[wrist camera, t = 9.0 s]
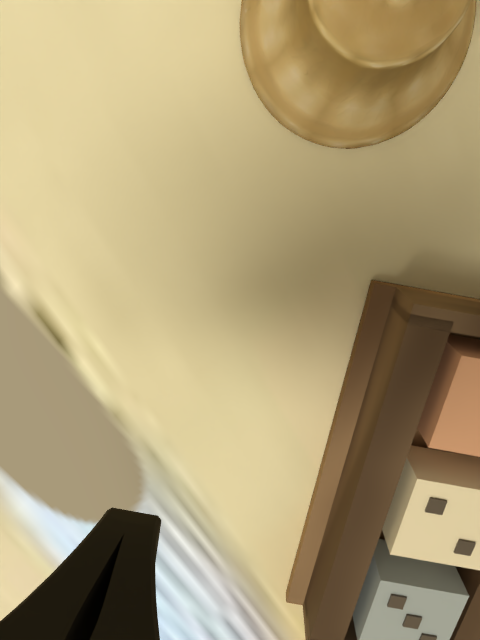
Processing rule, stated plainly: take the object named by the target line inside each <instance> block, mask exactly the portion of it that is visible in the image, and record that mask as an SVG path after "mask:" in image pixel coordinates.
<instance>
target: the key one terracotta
mask: <svg viewBox="0 0 480 640" xmlns="http://www.w3.org/2000/svg"><path fill="white" fill-rule="evenodd" d="M417 429H418V430H419V432H420V434H421V435H422V437H423V439H424V441H425V442H426V444H427V446H428V448H433V449H439V450H444V451H450V452H456V453H461V454H467V455H472V456H478V457H480V340H478V339H473V338H467V337H462V336H456V335H451V334H449V337H448V340H447V343H446V346H445V349H444V351H443V354H442V357H441V360H440V363H439V366H438V369H437V372H436V375H435V378H434V380H433V383H432V386H431V389H430V392H429V395H428V398H427V401H426V404H425V407H424V409H423V412H422V415H421V418H420V421H419V424H418V427H417Z"/></svg>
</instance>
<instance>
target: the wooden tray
mask: <svg viewBox="0 0 480 640" xmlns="http://www.w3.org/2000/svg"><path fill="white" fill-rule="evenodd" d="M449 334H451V335H456V336H462V337H467V338H473V339H478V340H480V299H475V298H469V297H464V296H458V295H453V294H447V293H442V292H436V291H430V290H425V289H419V288H414V287H408V286H403V285H397V284H392V283H386V282H381V281H375V280H371V283H370V287H369V291H368V294H367V298H366V302H365V305H364V309H363V313H362V316H361V320H360V324H359V327H358V331H357V335H356V338H355V342H354V346H353V349H352V353H351V357H350V360H349V364H348V367H347V371H346V375H345V378H344V382H343V386H342V389H341V393H340V397H339V400H338V404H337V408H336V411H335V415H334V419H333V422H332V426H331V430H330V433H329V437H328V441H327V444H326V448H325V452H324V455H323V459H322V463H321V466H320V470H319V474H318V477H317V481H316V485H315V488H314V492H313V495H312V499H311V503H310V506H309V510H308V514H307V517H306V521H305V525H304V528H303V532H302V536H301V539H300V543H299V547H298V550H297V554H296V558H295V561H294V565H293V569H292V572H291V576H290V580H289V583H288V587H287V591H286V602H288V603H293V604H299V605H303V613H304V625H305V637H306V640H357V636H356V631H355V626H354V621H353V612H354V610H355V607H356V604H357V601H358V598H359V595H360V592H361V589H362V586H363V583H364V581H365V578H366V575H367V572H368V569H369V566H370V563H371V560H372V557H373V554H374V552H375V549H376V546H377V543H378V540H379V539H383V540H385V537H384V534H383V531H382V528H383V525H384V523H385V520H386V517H387V514H388V511H389V508H390V505H391V502H392V499H393V496H394V494H395V491H396V488H397V485H398V482H399V479H400V476H401V473H402V470H403V467H404V465H405V462H406V459H407V456H408V453H409V450H410V447H411V445H412V446H418V447H424V448H428V446H427V444H426V442H425V441H424V439H423V437H422V435H421V434H420V432H419V430H418V429H417V427H418V424H419V421H420V418H421V415H422V412H423V409H424V407H425V404H426V401H427V398H428V395H429V392H430V389H431V386H432V383H433V380H434V378H435V375H436V372H437V369H438V366H439V363H440V360H441V357H442V354H443V351H444V349H445V346H446V343H447V340H448V337H449ZM429 449H433V448H429ZM435 450H439V449H435ZM440 451H444V450H440ZM446 452H450V451H446ZM451 453H456V452H451ZM457 454H461V453H457ZM463 455H467V454H463ZM468 456H472V455H468ZM474 457H478V456H474ZM479 458H480V457H479ZM455 567H456V569H457V571H458V573H459V575H460V577H461V580H462V582H463V584H464V586H465V588H466V590H467V592H468V594H469V598H468V600H467V602H466V604H465V607H464V609H463V611H462V613H461V616H460V618H459V620H458V622H457V624H456V627H455V629H454V631H453V633H452V635H451V638H450V640H480V570H475V569H469V568H463V567H458V566H455Z"/></svg>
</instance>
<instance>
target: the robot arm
mask: <svg viewBox="0 0 480 640" xmlns="http://www.w3.org/2000/svg"><path fill="white" fill-rule="evenodd" d="M160 526H161V519H160V518H159V517H158V516H156V515H150V514H145V513H139V512H133V511H128V510H122V509H116V508H111V509H109V510H107V511H106V513H105V514H104V515H103V517H102V518H101V519H100V521H99V522H98V523H97V524H96V526H95V527H94V528H93V529H92V530H91V532H90V533H89V534H88V535H87V536H86V537H85V539H84V540H83V541H82V542H81V543H80V544H79V545H78V546H77V548H76V549H75V550H74V551H73V552H72V553H71V554H70V555H69V556H68V557H67V558H66V559H65V560H64V561H63V562H62V564H61V565H60V566H59V567H58V568H57V569H56V570H55V571H54V572H53V573H52V574H51V575H50V576H49V577H48V578H47V579H46V580H45V581H44V582H43V583H42V584H41V585H40V586H38V587H37V588H36V589H35V590H34V591H33V592H32V593H31V594H30V595H29V596H28V597H27V598H26V599H25V600H24V601H23V602H22V603H21V604H19V605H18V606H17V607H16V608H15V609H14V610H13V611H12V612H10V613H9V614H8V615H7V616H6V617H5V618H4V619H2V620H1V621H0V640H160V637H159V628H158V618H157V606H156V585H155V561H156V554H157V547H158V540H159V533H160Z"/></svg>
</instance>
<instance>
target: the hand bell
mask: <svg viewBox="0 0 480 640" xmlns="http://www.w3.org/2000/svg"><path fill="white" fill-rule="evenodd" d="M475 9H476V0H242V4H241V14H240V38H241V47H242V54H243V58H244V63H245V66H246V69H247V72H248V75H249V77H250V80H251V82H252V85H253V87H254V89H255V91H256V93H257V95H258V97H259V98H260V100H261V101H262V103H263V104H264V105H265V107H266V108H267V109H268V111H269V112H270V113H271V114H272V115H273V116H274V117H275V118H276V119H277V120H278V121H279V122H280V123H281V124H282V125H283V126H285V127H286V128H287V129H289V130H290V131H292V132H293V133H294V134H296V135H298V136H300V137H302V138H304V139H306V140H309V141H311V142H314V143H317V144H320V145H323V146H328V147H338V148H346V149H349V148H358V147H364V146H370V145H374V144H377V143H380V142H383V141H386V140H388V139H391V138H393V137H395V136H397V135H399V134H401V133H403V132H405V131H406V130H408V129H410V128H411V127H412V126H414V125H415V124H416V123H418V122H419V121H420V120H421V119H423V118H424V117H425V116H426V115H427V114H428V113H429V112H430V111H431V110H432V109H433V108H434V107H435V106H436V105H437V103H438V102H439V101H440V100H441V99H442V97H443V96H444V95H445V93H446V92H447V91H448V89H449V88H450V86H451V85H452V83H453V81H454V79H455V77H456V76H457V74H458V72H459V70H460V68H461V66H462V64H463V61H464V59H465V57H466V54H467V51H468V47H469V44H470V41H471V36H472V32H473V27H474V19H475Z"/></svg>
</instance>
